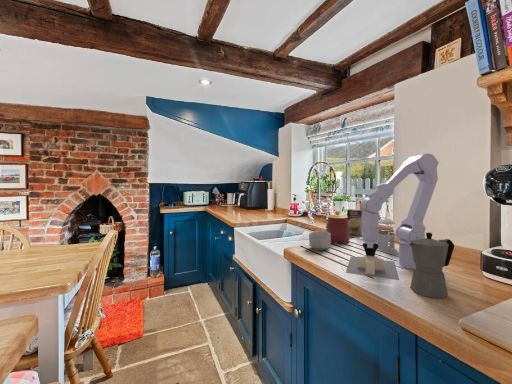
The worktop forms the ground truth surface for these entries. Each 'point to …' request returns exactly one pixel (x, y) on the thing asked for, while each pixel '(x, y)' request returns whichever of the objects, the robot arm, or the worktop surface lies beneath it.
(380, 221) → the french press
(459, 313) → the worktop surface
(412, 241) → the coffeepot
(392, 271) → the slate mat
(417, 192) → the robot arm
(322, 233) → the teacup
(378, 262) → the t block
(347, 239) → the canister
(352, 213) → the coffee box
